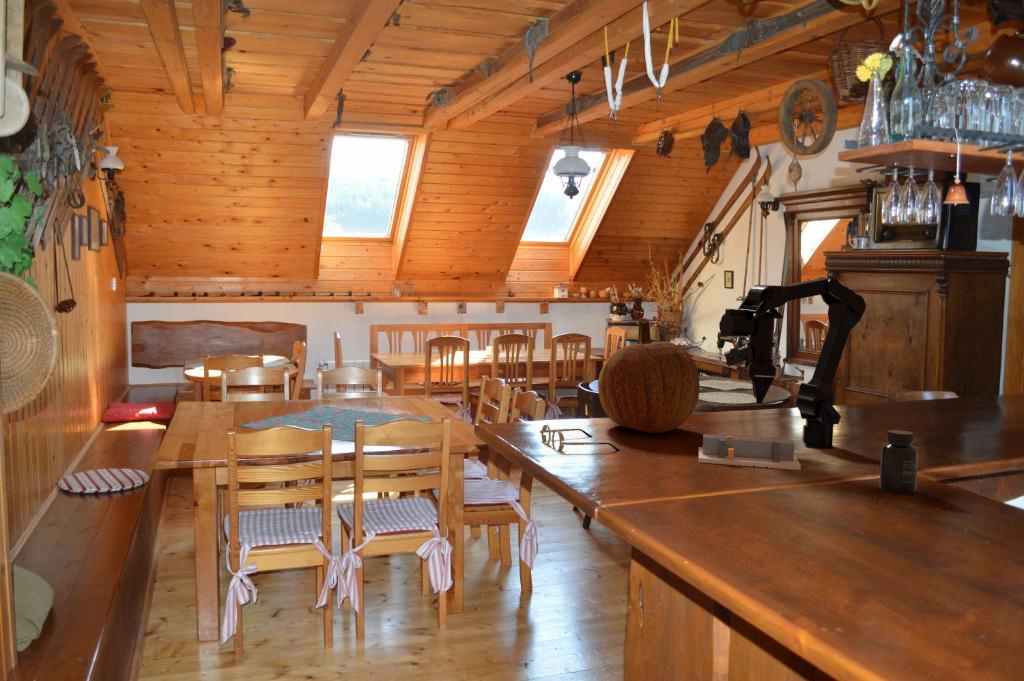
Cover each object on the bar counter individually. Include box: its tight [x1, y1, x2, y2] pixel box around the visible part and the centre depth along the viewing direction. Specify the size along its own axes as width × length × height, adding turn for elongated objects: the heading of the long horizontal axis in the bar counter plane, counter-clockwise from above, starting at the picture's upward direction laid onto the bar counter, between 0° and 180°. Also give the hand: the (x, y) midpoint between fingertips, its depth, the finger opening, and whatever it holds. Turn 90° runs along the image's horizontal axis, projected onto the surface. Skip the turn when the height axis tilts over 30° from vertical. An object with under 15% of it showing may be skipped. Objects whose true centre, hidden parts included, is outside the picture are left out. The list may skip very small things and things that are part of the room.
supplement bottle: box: [878, 429, 919, 495], centre depth 169 cm, size 7×7×12 cm
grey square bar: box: [702, 433, 795, 461], centre depth 192 cm, size 20×4×4 cm, turn 77°
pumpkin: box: [597, 317, 701, 434], centre depth 222 cm, size 27×27×30 cm
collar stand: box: [698, 432, 802, 471], centre depth 192 cm, size 22×12×5 cm, turn 77°
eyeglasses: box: [539, 424, 621, 452], centre depth 203 cm, size 17×15×5 cm
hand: (757, 400), depth 203 cm, fingers open, 9 cm apart
